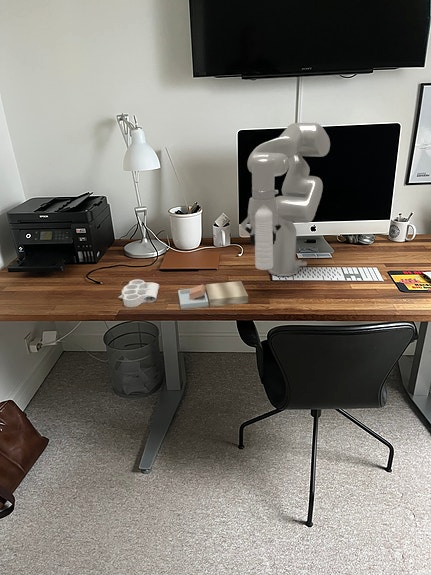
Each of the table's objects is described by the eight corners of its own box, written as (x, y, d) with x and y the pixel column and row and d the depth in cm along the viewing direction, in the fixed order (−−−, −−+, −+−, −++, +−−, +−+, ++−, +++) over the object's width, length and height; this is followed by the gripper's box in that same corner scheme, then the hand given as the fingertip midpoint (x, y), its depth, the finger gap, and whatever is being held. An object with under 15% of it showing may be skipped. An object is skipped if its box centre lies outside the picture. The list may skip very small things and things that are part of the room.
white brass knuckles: (155, 307, 165) (115, 308, 165) (160, 285, 181) (124, 287, 181) (154, 298, 163) (114, 300, 163) (159, 278, 179) (122, 280, 179)
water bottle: (275, 268, 162) (274, 200, 151) (258, 271, 161) (256, 202, 150) (268, 260, 169) (267, 194, 159) (251, 262, 168) (249, 196, 158)
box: (204, 292, 173) (204, 287, 172) (208, 306, 162) (208, 301, 161) (178, 294, 172) (178, 290, 171) (180, 309, 161) (180, 304, 160)
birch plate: (241, 287, 175) (240, 280, 174) (248, 303, 163) (248, 295, 162) (205, 291, 174) (205, 284, 172) (210, 307, 162) (209, 299, 161)
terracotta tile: (205, 289, 170) (203, 284, 169) (203, 295, 165) (200, 290, 164) (193, 293, 171) (191, 288, 170) (191, 299, 167) (188, 294, 166)
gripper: (284, 190, 158) (283, 238, 166) (236, 193, 156) (237, 242, 164) (290, 195, 151) (289, 245, 159) (240, 198, 149) (241, 249, 157)
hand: (262, 243), depth 161 cm, fingers closed on water bottle, 6 cm apart
